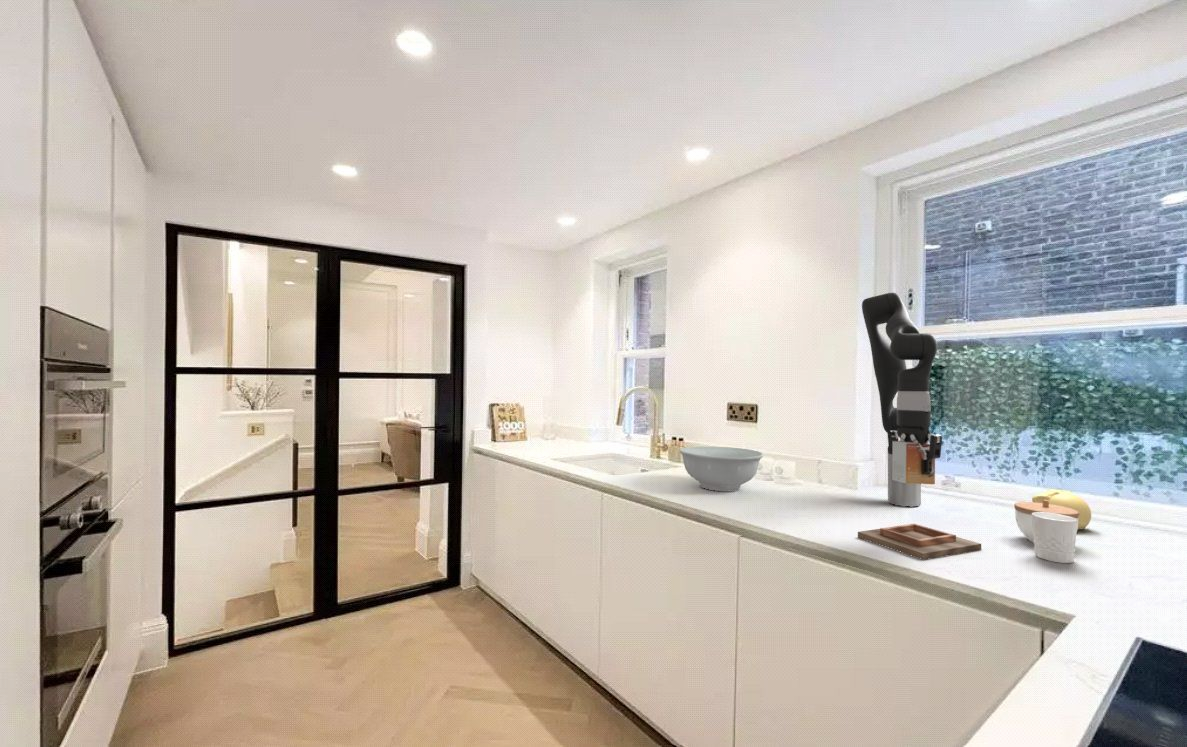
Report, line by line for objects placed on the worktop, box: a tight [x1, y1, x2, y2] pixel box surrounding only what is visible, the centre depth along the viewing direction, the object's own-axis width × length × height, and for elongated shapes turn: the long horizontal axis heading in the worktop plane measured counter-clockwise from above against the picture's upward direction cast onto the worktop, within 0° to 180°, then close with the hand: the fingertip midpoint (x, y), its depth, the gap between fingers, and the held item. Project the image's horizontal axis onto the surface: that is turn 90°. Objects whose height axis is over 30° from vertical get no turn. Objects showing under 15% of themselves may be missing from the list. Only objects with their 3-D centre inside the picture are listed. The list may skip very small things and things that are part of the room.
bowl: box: [678, 446, 764, 492], centre depth 195 cm, size 32×32×15 cm
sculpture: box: [1031, 488, 1092, 530], centre depth 144 cm, size 12×12×11 cm
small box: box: [892, 441, 936, 485], centre depth 129 cm, size 8×6×10 cm
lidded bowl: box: [1014, 500, 1079, 543], centre depth 130 cm, size 13×13×11 cm
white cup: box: [1032, 512, 1077, 564], centre depth 118 cm, size 8×8×10 cm
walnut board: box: [857, 523, 982, 560], centre depth 128 cm, size 21×18×3 cm
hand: (913, 471), depth 129 cm, fingers closed on small box, 6 cm apart
